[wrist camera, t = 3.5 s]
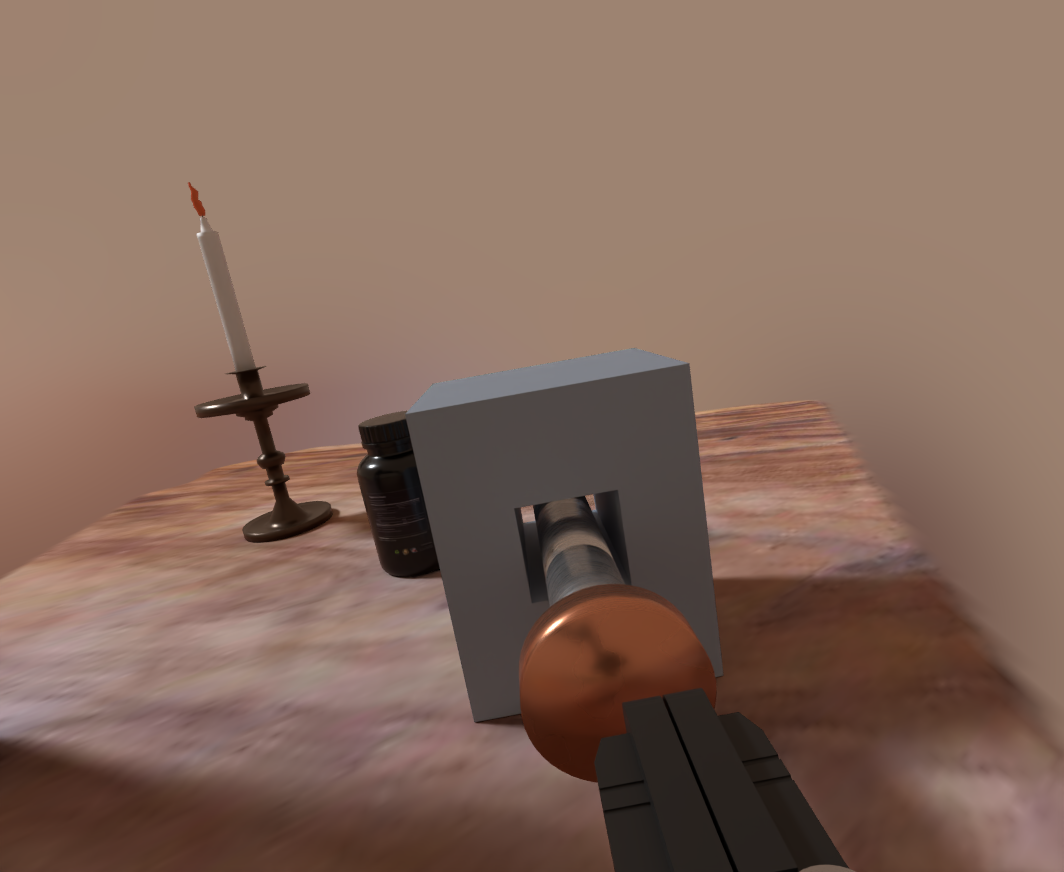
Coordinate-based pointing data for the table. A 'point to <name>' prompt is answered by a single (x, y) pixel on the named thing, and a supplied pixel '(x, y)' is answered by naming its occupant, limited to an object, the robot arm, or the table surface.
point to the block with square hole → (560, 496)
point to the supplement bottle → (395, 497)
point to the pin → (596, 644)
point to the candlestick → (254, 402)
